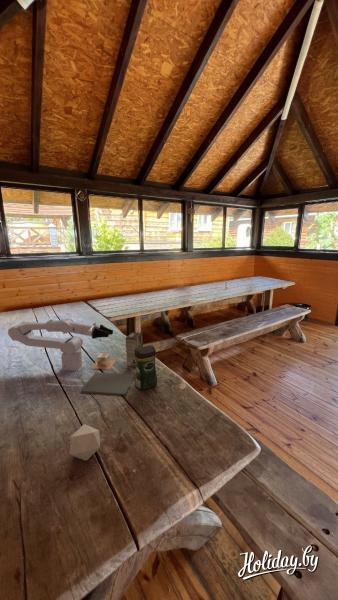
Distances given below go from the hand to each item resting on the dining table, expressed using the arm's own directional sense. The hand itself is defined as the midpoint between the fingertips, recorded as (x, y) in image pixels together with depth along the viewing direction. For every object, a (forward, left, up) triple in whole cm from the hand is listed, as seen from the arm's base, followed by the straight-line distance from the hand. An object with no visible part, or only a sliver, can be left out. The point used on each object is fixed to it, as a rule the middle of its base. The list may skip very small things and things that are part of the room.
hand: (110, 333), depth 123 cm
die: (+9, -52, -19) cm, 56 cm away
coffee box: (+10, +7, -19) cm, 23 cm away
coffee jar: (+20, -13, -19) cm, 31 cm away
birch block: (-6, +3, -19) cm, 20 cm away
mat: (+3, -14, -19) cm, 24 cm away
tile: (-6, +3, -19) cm, 20 cm away
